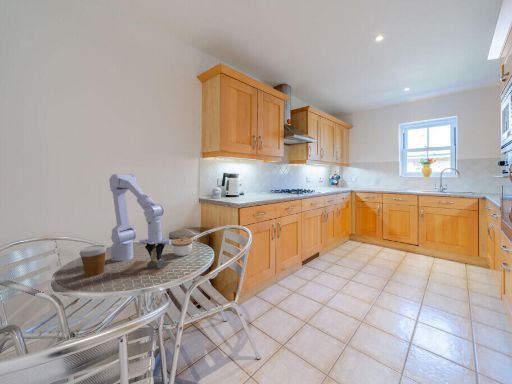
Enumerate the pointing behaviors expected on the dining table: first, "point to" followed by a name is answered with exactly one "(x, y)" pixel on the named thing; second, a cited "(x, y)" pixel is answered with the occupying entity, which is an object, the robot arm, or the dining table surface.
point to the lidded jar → (182, 246)
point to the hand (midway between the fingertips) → (156, 259)
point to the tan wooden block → (154, 256)
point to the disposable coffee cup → (93, 259)
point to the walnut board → (141, 269)
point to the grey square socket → (156, 264)
